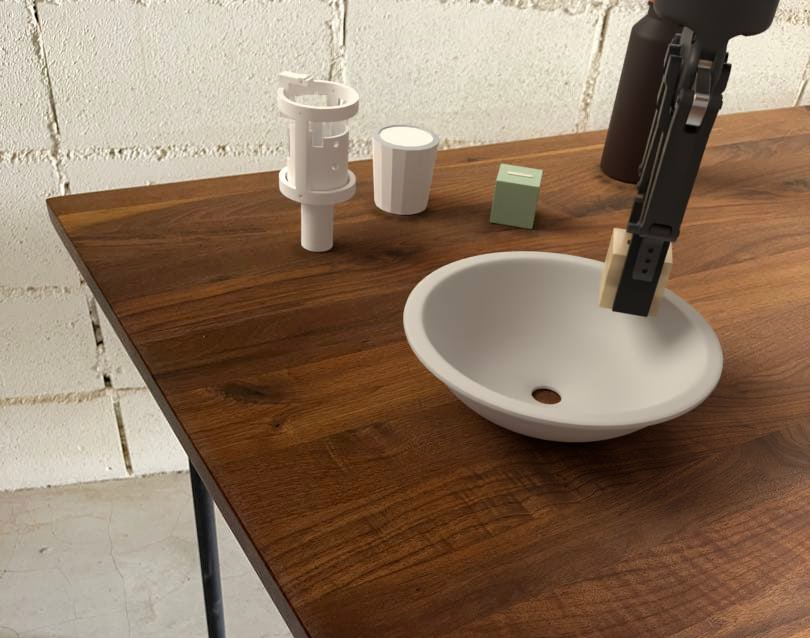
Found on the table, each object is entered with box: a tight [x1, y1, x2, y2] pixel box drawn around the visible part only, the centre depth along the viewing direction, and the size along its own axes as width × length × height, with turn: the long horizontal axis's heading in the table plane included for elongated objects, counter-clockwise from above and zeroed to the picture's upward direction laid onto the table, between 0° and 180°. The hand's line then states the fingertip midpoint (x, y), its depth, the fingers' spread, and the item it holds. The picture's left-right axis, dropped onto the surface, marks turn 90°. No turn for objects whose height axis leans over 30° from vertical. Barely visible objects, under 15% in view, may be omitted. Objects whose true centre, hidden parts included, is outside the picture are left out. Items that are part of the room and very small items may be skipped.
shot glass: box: [371, 123, 441, 216], centre depth 92 cm, size 7×7×7 cm
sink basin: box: [402, 250, 724, 443], centre depth 69 cm, size 24×24×7 cm
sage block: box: [489, 163, 544, 230], centre depth 92 cm, size 4×4×5 cm
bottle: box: [599, 0, 684, 184], centre depth 98 cm, size 7×7×20 cm
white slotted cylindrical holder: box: [276, 70, 360, 253], centre depth 81 cm, size 7×7×15 cm
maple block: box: [599, 227, 674, 317], centre depth 69 cm, size 4×4×5 cm
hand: (630, 295), depth 70 cm, fingers closed on maple block, 4 cm apart
